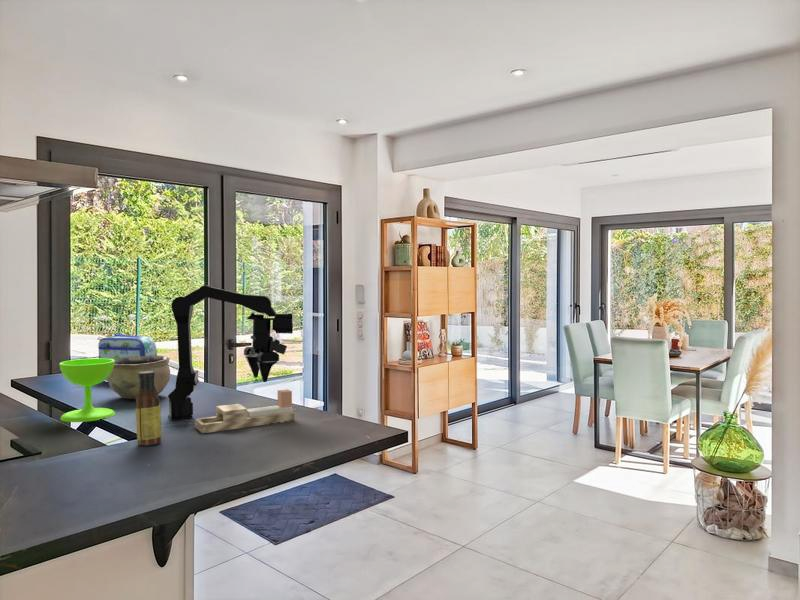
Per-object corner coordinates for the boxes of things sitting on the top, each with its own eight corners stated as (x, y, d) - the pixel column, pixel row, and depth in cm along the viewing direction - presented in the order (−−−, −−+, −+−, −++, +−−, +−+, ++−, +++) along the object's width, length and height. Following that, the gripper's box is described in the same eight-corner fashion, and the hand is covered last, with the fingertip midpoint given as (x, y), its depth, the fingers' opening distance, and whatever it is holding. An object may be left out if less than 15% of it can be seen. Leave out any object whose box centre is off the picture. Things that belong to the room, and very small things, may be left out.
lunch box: (94, 382, 249) (93, 334, 248) (114, 378, 259) (114, 332, 258) (140, 386, 240) (140, 337, 239) (159, 382, 250) (159, 334, 249)
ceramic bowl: (176, 400, 214) (176, 360, 213) (112, 407, 202) (111, 364, 201) (163, 390, 232) (163, 353, 232) (103, 396, 220) (103, 357, 220)
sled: (249, 420, 178) (249, 396, 178) (244, 418, 182) (244, 393, 181) (292, 415, 186) (292, 391, 186) (287, 412, 190) (287, 389, 189)
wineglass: (110, 420, 183) (109, 364, 182) (53, 423, 178) (52, 366, 178) (119, 409, 198) (119, 357, 198) (67, 412, 194) (66, 359, 193)
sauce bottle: (166, 441, 159) (166, 370, 159) (150, 447, 154) (149, 374, 153) (147, 439, 162) (147, 369, 161) (130, 445, 156) (130, 372, 155)
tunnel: (201, 433, 168) (201, 414, 168) (194, 427, 175) (194, 408, 175) (294, 420, 184) (294, 403, 184) (284, 415, 191) (284, 398, 191)
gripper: (294, 335, 187) (293, 382, 188) (275, 330, 203) (273, 373, 204) (261, 336, 181) (260, 384, 182) (244, 330, 197) (242, 375, 198)
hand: (260, 379), depth 191 cm, fingers open, 9 cm apart
